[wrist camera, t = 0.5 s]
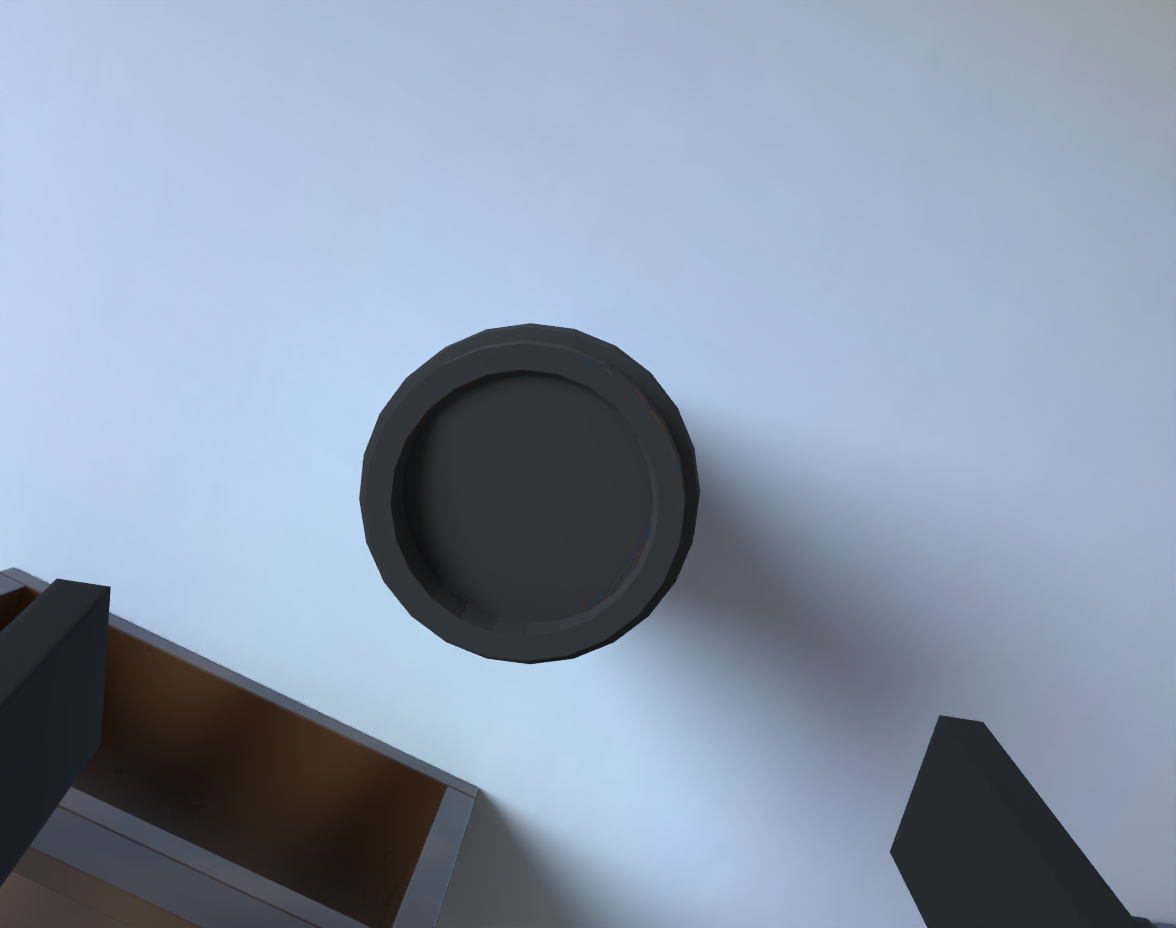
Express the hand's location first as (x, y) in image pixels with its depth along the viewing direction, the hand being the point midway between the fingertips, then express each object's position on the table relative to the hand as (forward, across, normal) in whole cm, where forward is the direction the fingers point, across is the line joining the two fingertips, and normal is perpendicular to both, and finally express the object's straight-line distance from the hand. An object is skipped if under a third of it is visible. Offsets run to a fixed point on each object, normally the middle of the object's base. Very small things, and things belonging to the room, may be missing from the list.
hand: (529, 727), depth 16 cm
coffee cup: (+22, -2, +2) cm, 22 cm away
